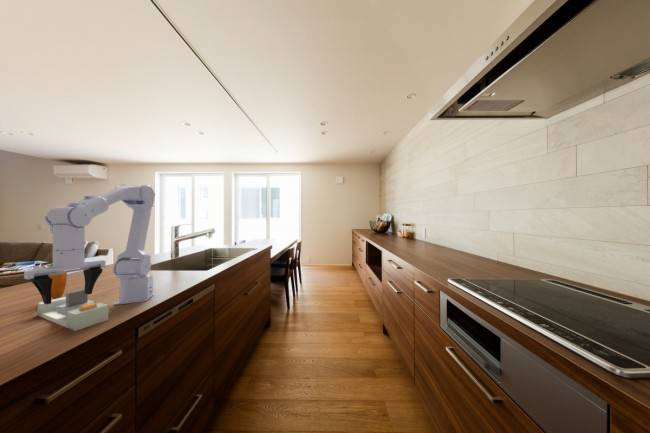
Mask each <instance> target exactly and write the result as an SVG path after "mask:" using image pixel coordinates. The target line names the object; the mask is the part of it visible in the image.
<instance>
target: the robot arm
mask: <svg viewBox="0 0 650 433" xmlns="http://www.w3.org/2000/svg"><path fill="white" fill-rule="evenodd" d="M155 196H156V193H155V191H154V189H153V187H152V186H151V185H150V184H120V185H116V186H115V188H114V189H111V190H110V191H107V192H106V193H103V194H102V195H100V196H99V195H94V194H87V195H84V196H83V198H82V199H79V200H78V201H71V202H69V203H68V205H66V206H55V207H54V208H51V209H50V210H49V211H48V213H47V215H46V216H44V220H45V223H46V225H48V226H49V230H50V232H51V234H52V263H53V266H52V267H49V266H46V267H41V268H35V269H29V270H24V271H23V275H24V276H23V279H24V280H29V281H30V282H31V283H32V284H33V285H34V287H35V288H36V289H37V291H38V292H39V294H40V296H41V299H42V302H43V303H44V304H51V300H52V297H51V286H52V280H53V279H51V278H50V277H48V276H49V275H55V274H62V273H73V272H79V271H83V275H84V276H83V277H84V289H85V294H88V295H92V293H93V290H94V287H95V284H96V283H97V280H98V278H99V277H100V275H101V274H103V273H102V272H103V268H106V260H92V261H85V258H86V257H85V255H86V253H85V252H86V251H85V249H86V248H85V245H86V244H85V233H86V232H85V227H86V226H89V225H90V223H91V222H92V220H93V219H94V218H95V217H97V216H99V215H101V214H103V213H105V212H106V211H107V210H109V206H110V205H113V204H115V203H117V202H120V201H121V202H123V203H124V204H125V206H127V207H128V208H130V209H132V211H133V213H132V219H131V222H130V227H129V233H128V236H127V242H126V248H125V250H124V251H122V252H121V253H119V254H118V255H117V258H116V260H115V262H114V264H113V266H112V273H113V274H114V275H115V276H116V277H117V279H118V280H119V288H118V289H119V291H118V292H119V295H118V296H119V300H117V301H115V302H114V303H113V305H114V306H116V305H118V306H119V305H124V304H133V303H141V302H147V301H148V300H149V299H150V298H151V297H152V296H154V278H153V275H151V274H150V275H149V274H148V273H150V270H151V268H152V263H151V257H152V256H151V254H149V253H147V252H146V251H145V247H146V242H147V235H148V230H149V224H150V219H151V213H152V208H153V207H154V202H155ZM63 270H64V271H63ZM60 271H61V272H60ZM53 272H54V273H53Z"/></svg>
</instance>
